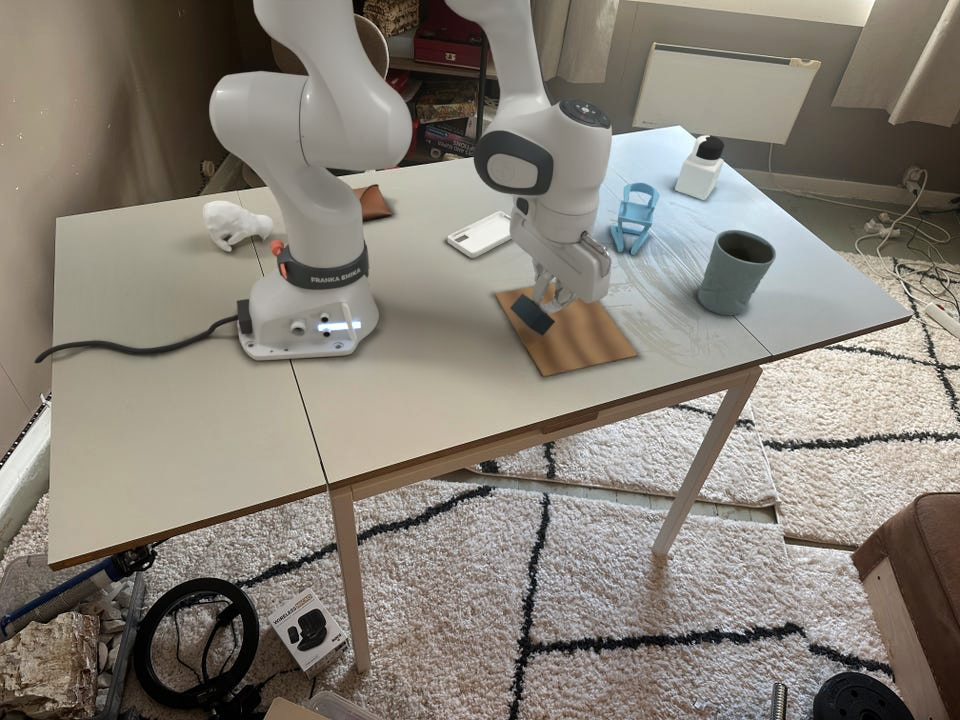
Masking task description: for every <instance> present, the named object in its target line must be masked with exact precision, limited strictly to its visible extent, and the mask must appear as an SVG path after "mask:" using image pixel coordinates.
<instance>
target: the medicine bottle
mask: <svg viewBox="0 0 960 720" xmlns="http://www.w3.org/2000/svg"><path fill="white" fill-rule="evenodd" d="M724 148H725V143H724V141H723V140H722V139H721V138H718V137H716V136H714V135H709V134H708V135H707V134H706V135H700V136H698V137H697V138H696V139H695V142H694V145H693V149H692V151H691V153H690V154H689V155H688V156H687V157H686V158H685V160H684V161H683V162H682V165H681V168H680V171H679V175H678V178H677V181H676V183H675V187H674V190H675V192H679V193H681V194H684V195H687V196H690V197H693V198H696V199H698V200H702V201H705V200H706V199H707V198H708V196H709V195H710V194H711V192H712V191H713V190H714V188H715V186H716V185H717V181H718V178H719V176H720V173H721V170H722V167H723V164H724V161H725V160H724V159H723V158H721V156H722V155H723V154H722V153H723V151H724Z"/></svg>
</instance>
